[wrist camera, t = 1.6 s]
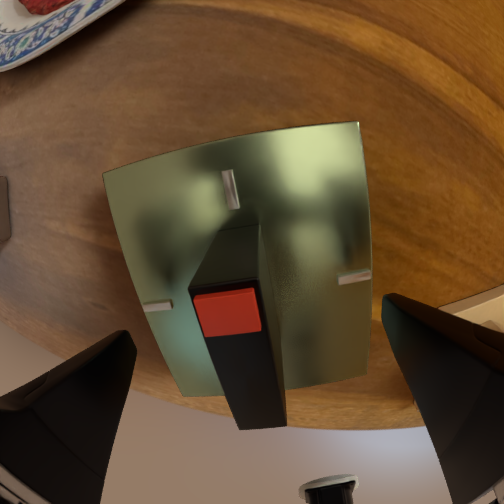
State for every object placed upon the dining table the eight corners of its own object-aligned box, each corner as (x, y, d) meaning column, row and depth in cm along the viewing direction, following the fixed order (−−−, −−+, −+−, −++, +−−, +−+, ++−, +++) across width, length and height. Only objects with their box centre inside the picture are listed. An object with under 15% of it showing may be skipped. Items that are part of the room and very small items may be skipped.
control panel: (353, 341, 15) (368, 377, 12) (192, 362, 16) (182, 399, 13) (337, 127, 11) (360, 120, 8) (132, 168, 12) (98, 173, 9)
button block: (480, 374, 17) (494, 393, 14) (413, 402, 18) (424, 428, 15) (509, 281, 14) (533, 298, 11) (437, 307, 14) (460, 332, 12)
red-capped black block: (281, 344, 12) (288, 432, 7) (245, 349, 12) (238, 436, 7) (260, 223, 10) (259, 282, 6) (216, 231, 10) (183, 293, 6)
